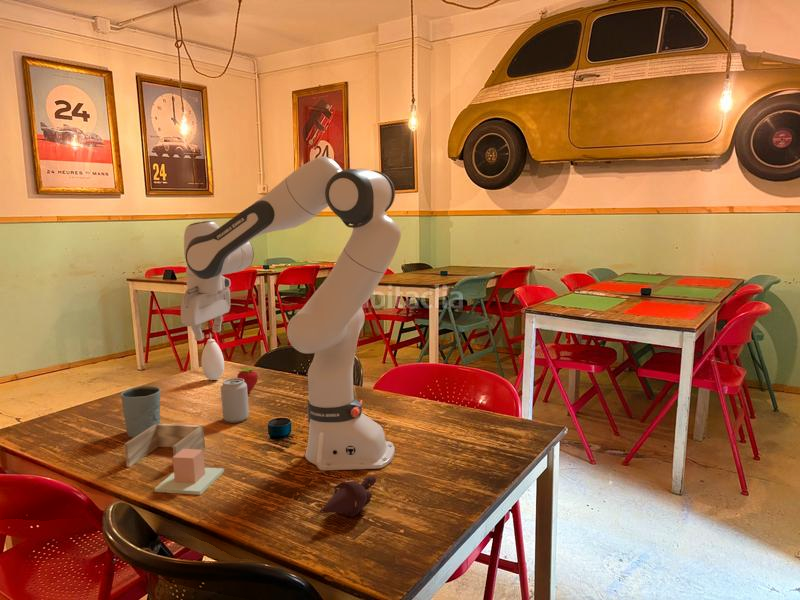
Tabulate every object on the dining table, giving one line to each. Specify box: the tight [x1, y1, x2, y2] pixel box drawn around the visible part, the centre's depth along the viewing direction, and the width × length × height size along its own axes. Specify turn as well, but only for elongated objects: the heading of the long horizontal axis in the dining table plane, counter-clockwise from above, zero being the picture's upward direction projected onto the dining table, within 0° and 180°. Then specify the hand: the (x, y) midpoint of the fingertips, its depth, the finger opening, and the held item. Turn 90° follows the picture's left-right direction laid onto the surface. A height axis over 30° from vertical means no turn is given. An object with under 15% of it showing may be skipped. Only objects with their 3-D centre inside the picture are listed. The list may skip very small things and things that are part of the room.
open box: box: [124, 423, 206, 468], centre depth 142 cm, size 14×13×6 cm
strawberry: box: [236, 365, 259, 393], centre depth 191 cm, size 6×8×10 cm
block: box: [172, 449, 206, 483], centre depth 128 cm, size 5×4×6 cm
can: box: [220, 377, 250, 424], centre depth 166 cm, size 8×8×12 cm
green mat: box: [154, 467, 225, 496], centre depth 129 cm, size 11×11×1 cm
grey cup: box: [120, 385, 161, 439], centre depth 158 cm, size 10×10×12 cm
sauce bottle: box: [200, 332, 225, 381], centre depth 205 cm, size 8×8×18 cm
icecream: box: [320, 475, 377, 518], centre depth 113 cm, size 7×7×15 cm
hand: (208, 335), depth 148 cm, fingers open, 8 cm apart
